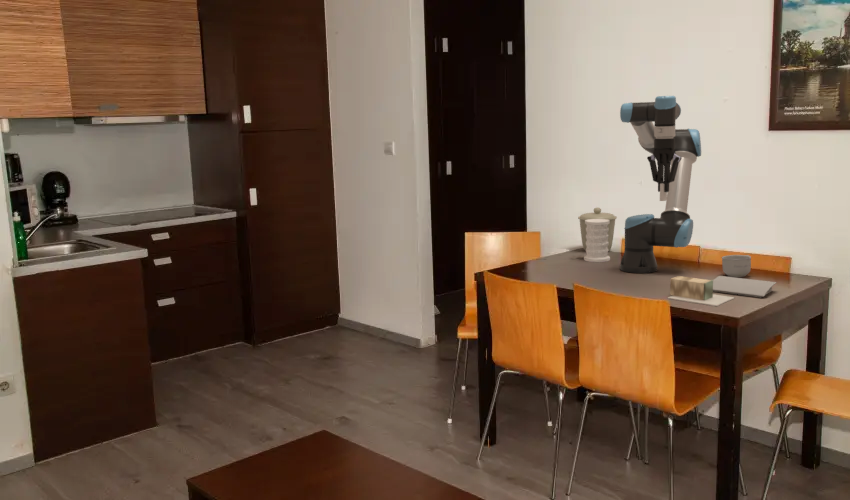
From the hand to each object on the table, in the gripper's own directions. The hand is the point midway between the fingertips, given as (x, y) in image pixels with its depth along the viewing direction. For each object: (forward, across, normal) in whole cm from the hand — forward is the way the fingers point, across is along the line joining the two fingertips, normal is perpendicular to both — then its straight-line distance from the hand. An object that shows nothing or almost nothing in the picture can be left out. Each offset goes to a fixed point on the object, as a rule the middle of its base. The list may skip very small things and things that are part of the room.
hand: (663, 200), depth 284 cm
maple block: (+29, +12, -13) cm, 34 cm away
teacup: (+33, +17, +31) cm, 48 cm away
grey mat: (+32, +22, -13) cm, 41 cm away
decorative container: (+33, -46, +27) cm, 63 cm away
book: (+33, +28, +6) cm, 44 cm away
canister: (+33, -58, +46) cm, 81 cm away
